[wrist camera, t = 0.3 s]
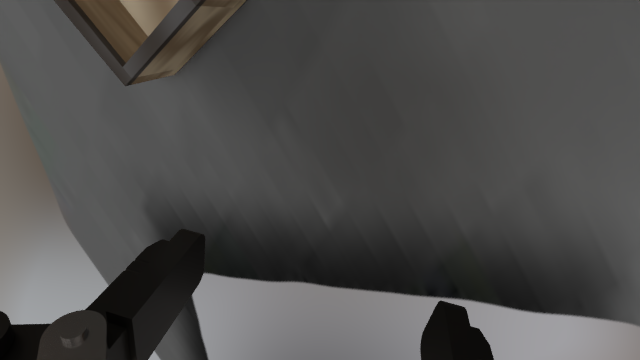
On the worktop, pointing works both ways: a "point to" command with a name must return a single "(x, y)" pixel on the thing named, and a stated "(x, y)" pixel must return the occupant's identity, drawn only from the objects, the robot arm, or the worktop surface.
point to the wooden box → (147, 32)
